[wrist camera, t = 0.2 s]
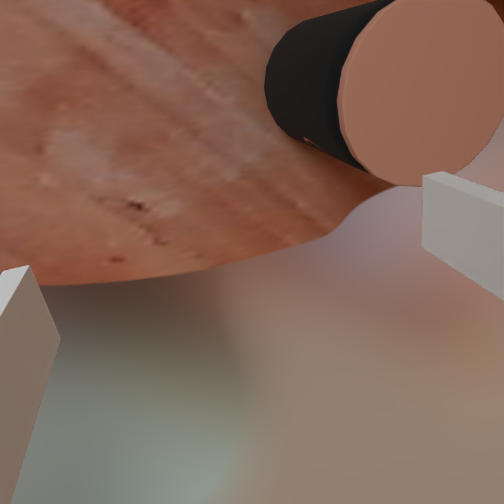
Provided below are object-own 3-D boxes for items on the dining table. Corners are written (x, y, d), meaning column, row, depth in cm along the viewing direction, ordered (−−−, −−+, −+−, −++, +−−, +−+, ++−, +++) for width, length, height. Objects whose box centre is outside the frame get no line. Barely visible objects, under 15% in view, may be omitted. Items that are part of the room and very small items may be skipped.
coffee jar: (263, 146, 41) (339, 198, 25) (257, 21, 37) (344, -14, 21) (366, 136, 43) (497, 177, 27) (372, 15, 39) (532, -20, 23)
